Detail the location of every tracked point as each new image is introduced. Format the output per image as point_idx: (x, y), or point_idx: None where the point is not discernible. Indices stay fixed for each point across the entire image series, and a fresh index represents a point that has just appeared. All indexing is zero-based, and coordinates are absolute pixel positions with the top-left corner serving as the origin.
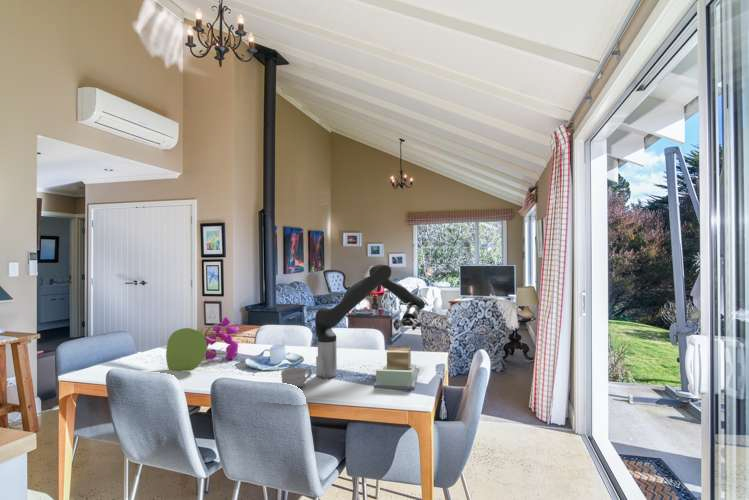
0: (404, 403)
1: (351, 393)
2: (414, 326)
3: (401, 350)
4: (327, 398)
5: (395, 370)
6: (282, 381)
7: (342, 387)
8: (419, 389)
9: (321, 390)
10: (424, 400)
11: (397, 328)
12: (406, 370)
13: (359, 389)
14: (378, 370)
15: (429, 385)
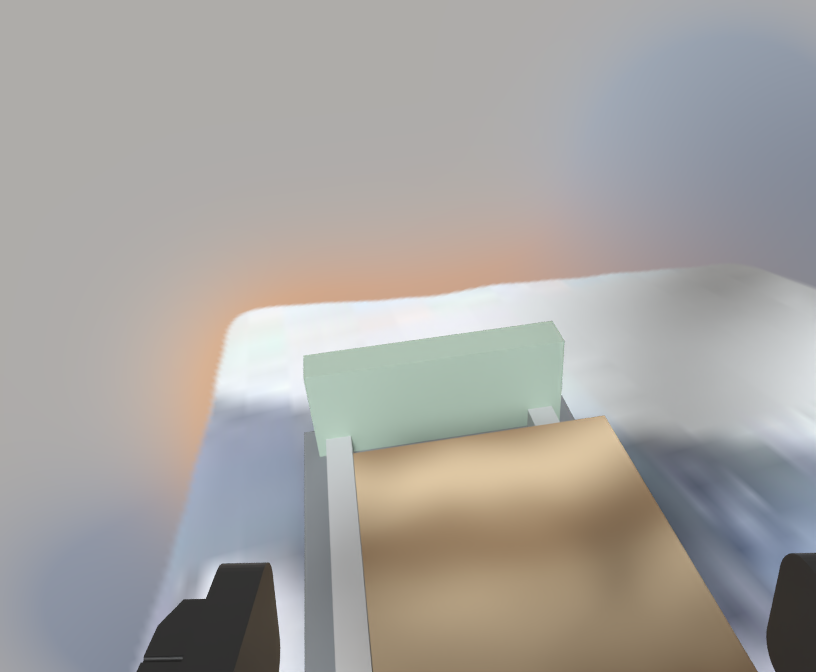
0: (333, 312)
1: (623, 327)
2: (183, 627)
3: (464, 515)
4: (680, 272)
5: (423, 351)
6: None
7: (739, 367)
8: (273, 455)
9: (799, 316)
10: (244, 351)
11: (790, 616)
12: (345, 368)
13: (623, 370)
14: (539, 327)
15: (200, 535)
